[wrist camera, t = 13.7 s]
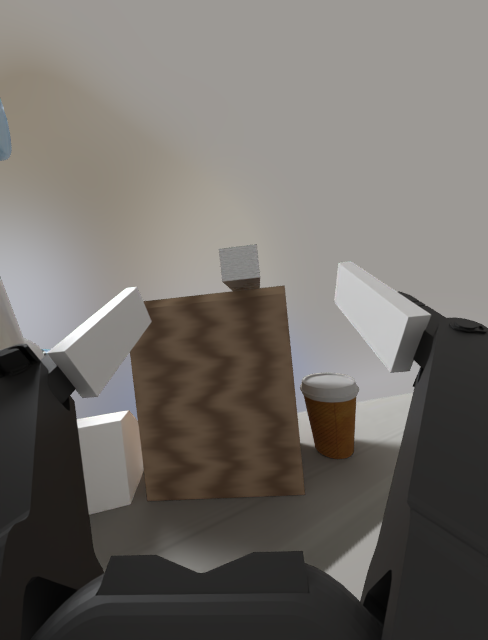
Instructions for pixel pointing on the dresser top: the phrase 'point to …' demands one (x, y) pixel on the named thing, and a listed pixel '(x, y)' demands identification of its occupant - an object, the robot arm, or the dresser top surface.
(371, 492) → the dresser top surface
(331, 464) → the dresser top surface
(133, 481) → the corner bracket
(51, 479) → the robot arm
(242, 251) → the steel bar
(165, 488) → the walnut shelf
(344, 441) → the disposable coffee cup
